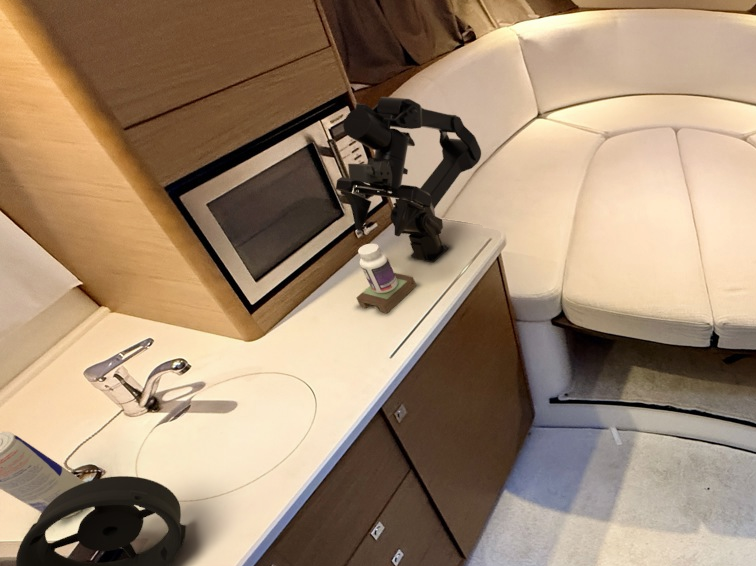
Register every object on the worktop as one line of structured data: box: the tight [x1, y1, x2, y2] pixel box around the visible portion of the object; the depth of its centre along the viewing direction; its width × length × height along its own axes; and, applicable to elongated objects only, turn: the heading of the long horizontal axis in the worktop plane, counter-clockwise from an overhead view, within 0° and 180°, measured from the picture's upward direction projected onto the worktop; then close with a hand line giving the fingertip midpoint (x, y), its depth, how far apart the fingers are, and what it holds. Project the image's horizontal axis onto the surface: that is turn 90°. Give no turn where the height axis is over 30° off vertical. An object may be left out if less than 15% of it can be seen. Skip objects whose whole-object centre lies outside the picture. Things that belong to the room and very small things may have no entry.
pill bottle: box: [357, 243, 398, 293], centre depth 108 cm, size 5×5×10 cm
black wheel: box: [15, 475, 187, 566], centre depth 68 cm, size 14×14×10 cm
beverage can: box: [0, 430, 86, 519], centre depth 73 cm, size 6×6×15 cm
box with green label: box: [355, 272, 417, 314], centre depth 112 cm, size 10×7×3 cm
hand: (377, 233), depth 106 cm, fingers open, 9 cm apart
